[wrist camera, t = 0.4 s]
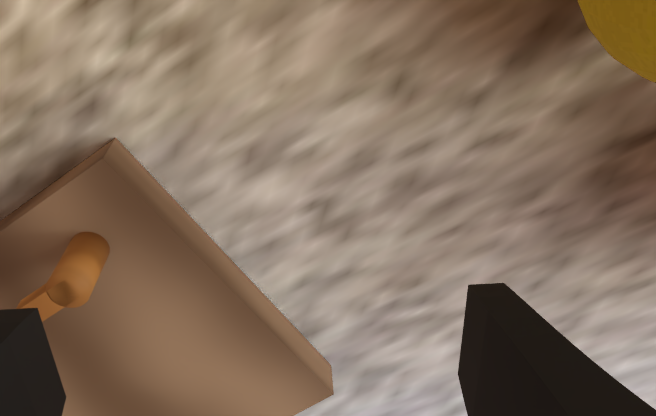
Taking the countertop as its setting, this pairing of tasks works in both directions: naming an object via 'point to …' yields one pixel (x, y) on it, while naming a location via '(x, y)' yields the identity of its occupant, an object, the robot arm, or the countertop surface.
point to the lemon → (625, 31)
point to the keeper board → (148, 303)
